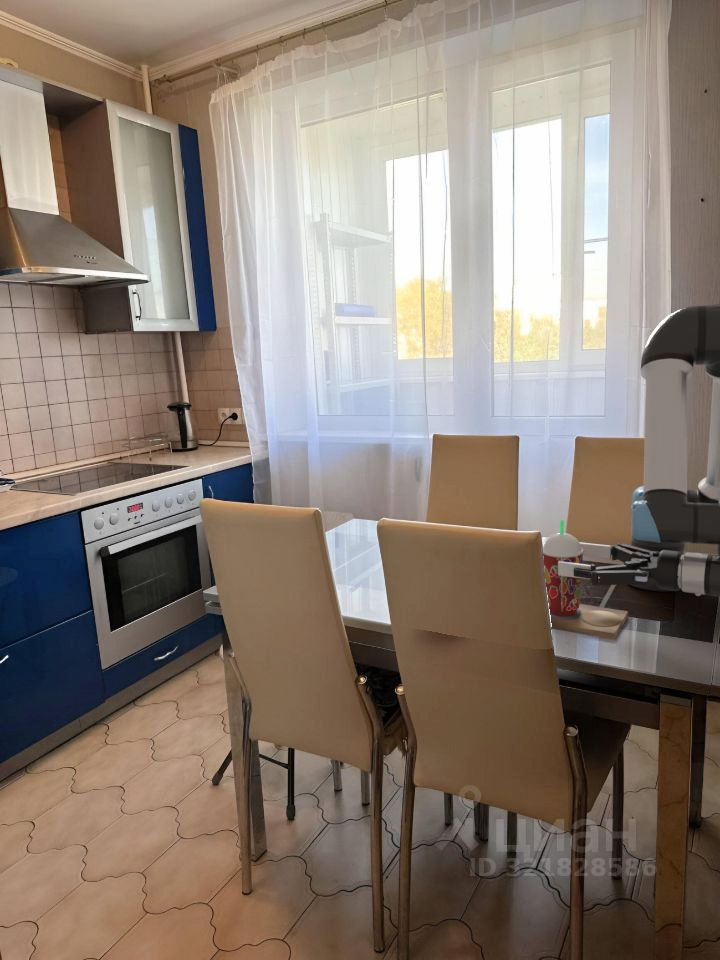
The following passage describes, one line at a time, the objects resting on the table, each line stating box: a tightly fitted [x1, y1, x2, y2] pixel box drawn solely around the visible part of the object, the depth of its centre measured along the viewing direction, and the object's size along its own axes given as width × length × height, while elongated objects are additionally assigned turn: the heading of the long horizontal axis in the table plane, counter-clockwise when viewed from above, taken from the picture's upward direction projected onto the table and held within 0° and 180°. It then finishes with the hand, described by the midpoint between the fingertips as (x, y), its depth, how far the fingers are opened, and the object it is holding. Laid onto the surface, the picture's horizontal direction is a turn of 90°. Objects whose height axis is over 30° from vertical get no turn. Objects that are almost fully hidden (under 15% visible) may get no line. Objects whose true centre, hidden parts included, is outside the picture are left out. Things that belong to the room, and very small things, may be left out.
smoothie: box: [542, 519, 584, 616], centre depth 140 cm, size 8×8×20 cm
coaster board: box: [550, 603, 629, 640], centre depth 140 cm, size 12×16×1 cm
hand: (569, 558), depth 138 cm, fingers open, 13 cm apart
